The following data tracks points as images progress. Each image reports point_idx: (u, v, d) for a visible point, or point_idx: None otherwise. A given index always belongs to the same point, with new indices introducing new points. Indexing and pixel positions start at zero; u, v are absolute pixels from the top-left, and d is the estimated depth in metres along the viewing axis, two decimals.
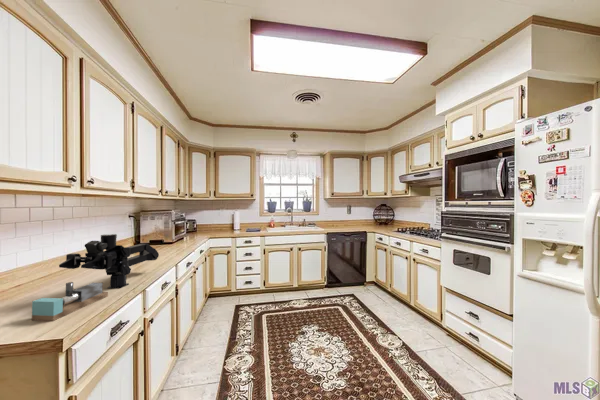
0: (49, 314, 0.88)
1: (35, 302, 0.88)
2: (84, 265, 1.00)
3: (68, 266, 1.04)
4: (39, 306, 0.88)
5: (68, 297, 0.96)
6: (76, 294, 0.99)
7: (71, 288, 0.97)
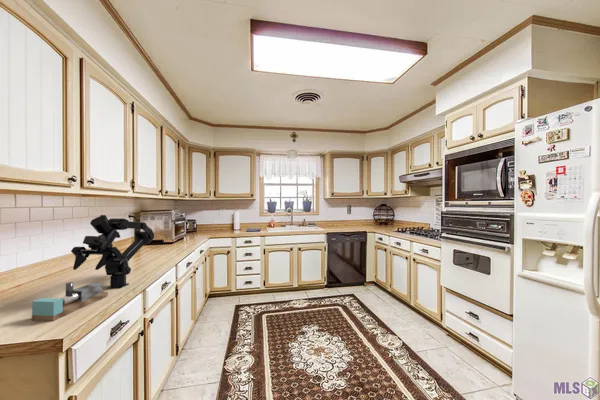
0: (49, 314, 0.88)
1: (35, 302, 0.88)
2: (98, 267, 1.05)
3: (81, 262, 1.08)
4: (39, 306, 0.88)
5: (68, 297, 0.96)
6: (76, 294, 0.99)
7: (71, 288, 0.97)
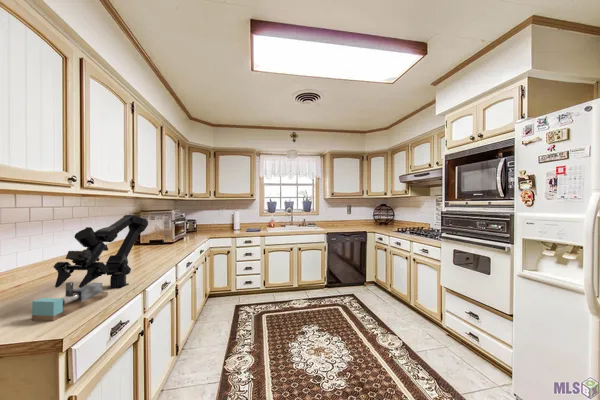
0: (49, 314, 0.88)
1: (35, 302, 0.88)
2: (82, 284, 0.97)
3: (65, 279, 1.01)
4: (39, 306, 0.88)
5: (68, 297, 0.96)
6: (76, 294, 0.99)
7: (71, 288, 0.97)
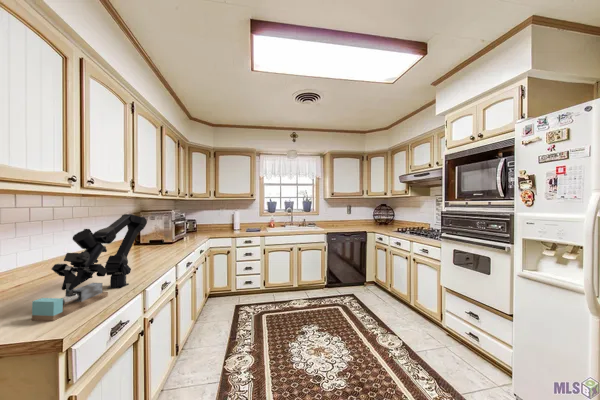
0: (49, 314, 0.88)
1: (35, 302, 0.88)
2: (72, 287, 0.96)
3: (71, 281, 1.00)
4: (39, 306, 0.88)
5: (68, 297, 0.96)
6: (76, 294, 0.99)
7: None
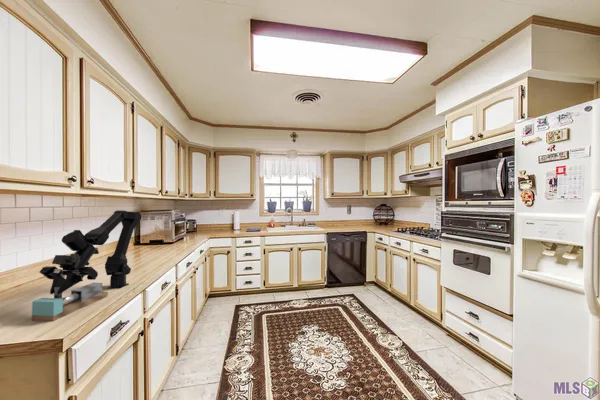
0: (49, 314, 0.88)
1: (35, 302, 0.88)
2: (60, 291, 0.92)
3: (60, 284, 0.96)
4: (39, 306, 0.88)
5: None
6: (65, 298, 0.95)
7: None
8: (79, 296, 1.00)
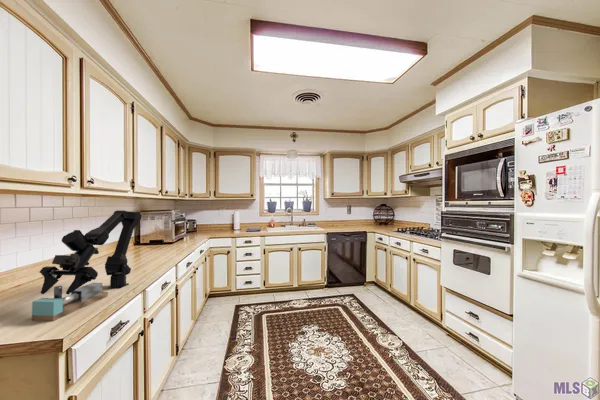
0: (49, 314, 0.88)
1: (35, 302, 0.88)
2: (69, 291, 0.92)
3: (51, 284, 0.95)
4: (39, 306, 0.88)
5: None
6: (65, 298, 0.95)
7: (60, 292, 0.93)
8: (79, 296, 1.00)
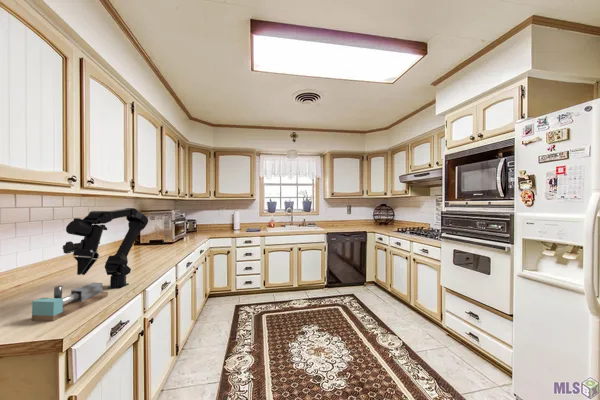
0: (49, 314, 0.88)
1: (35, 302, 0.88)
2: (78, 272, 1.01)
3: (90, 265, 1.11)
4: (39, 306, 0.88)
5: None
6: (65, 298, 0.95)
7: (60, 292, 0.93)
8: (79, 296, 1.00)
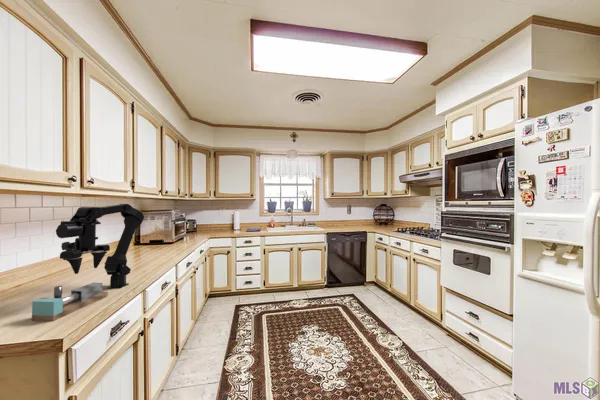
0: (49, 314, 0.88)
1: (35, 302, 0.88)
2: (75, 271, 1.03)
3: (99, 258, 1.13)
4: (39, 306, 0.88)
5: None
6: (65, 298, 0.95)
7: (60, 292, 0.93)
8: (79, 296, 1.00)
